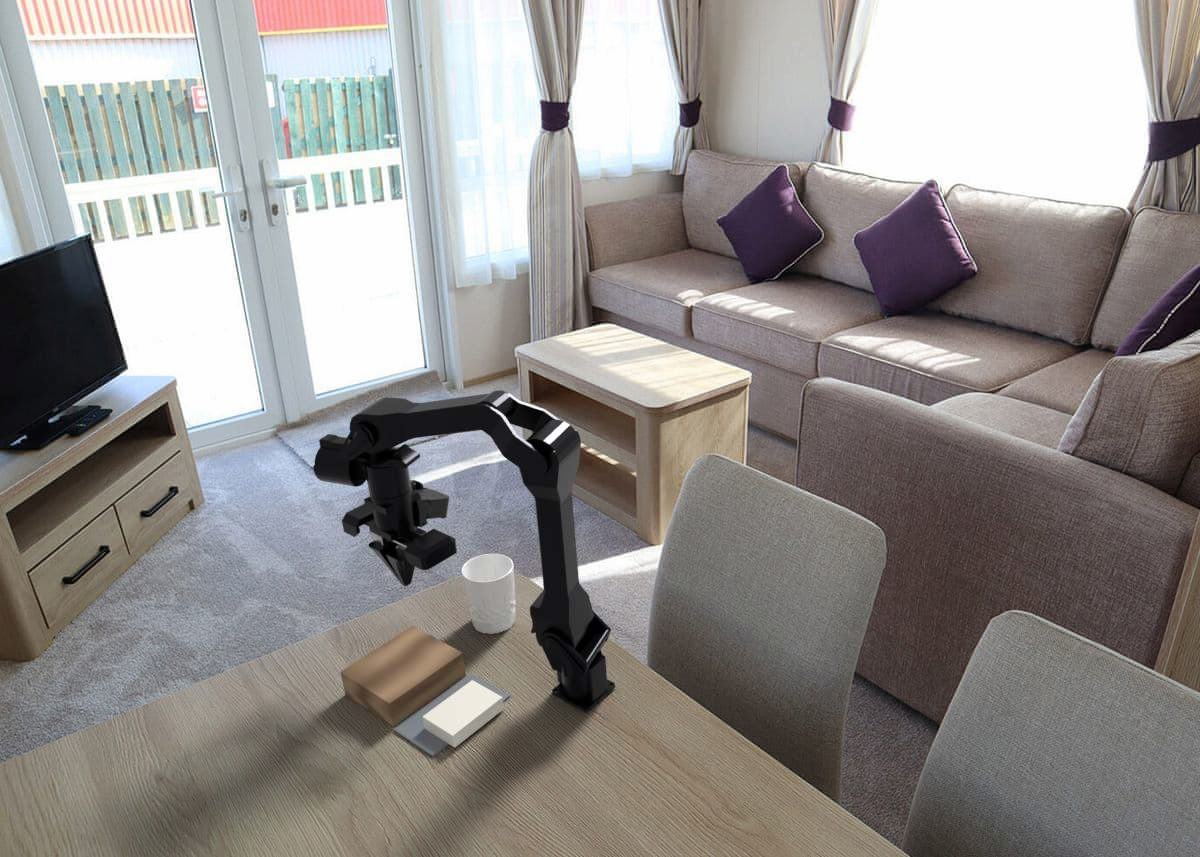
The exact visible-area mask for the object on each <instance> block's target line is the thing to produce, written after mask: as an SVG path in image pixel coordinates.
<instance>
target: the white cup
mask: <svg viewBox="0 0 1200 857" xmlns="http://www.w3.org/2000/svg"><path fill="white" fill-rule="evenodd" d="M514 569H515V568H514V562H513V560H512V559H511V558H510V557H509V556H507V555H504V554H502V553H501V554H500V553H486V554H480V555H477V556H475V557H472V558H470V559H468V560H467V561H466V562H464V564H463V565H462V567H461V575H462V580H463V581H462V582H463V586H464V587H463V588H464V591H465V596H466V601H467V606H468V609H469V613H470V617H471V622H472V626H473V627H474V629H475V630H476V631H477V632H480V633H481V634H486V633H487V635H495V633H496V634H500V632H501V633H504V632H505V631H508V630H509V629H511V628H512V626H513V625H514V624H515V623H516V617H517V614H516V586H515V584H516V583H515V570H514ZM503 631H504V632H503Z"/></svg>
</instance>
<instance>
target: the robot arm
mask: <svg viewBox="0 0 1200 857" xmlns="http://www.w3.org/2000/svg"><path fill="white" fill-rule="evenodd" d="M512 425H513V426H516V427H519V428H522V429H525V430H527V431H532V432H533V433H532V434H531V435H530V436H529V437H528V438H527V439H524V438H523V437H521V436H520V435H518V434H517V432H516V430H515V429H514V427H513V426H512ZM477 431H482V432H484V433H485V434H486V435H487V436H489V437H490V438H491V440H492V441H493V443H494V444H495V446H496V448H497V449H498V450H499V451H500V452H499V453H501V456H503V457H504V458H505V459H506V460H507V461H509V462H511V464H513V465H514V466H516V467H517V468H518V469H519V474H520V477H521V481H522V483H523V485H524V486H525V488H526V489H527V490H528V492H529V493H530V494H531V495H532V497H533V499H534V503H535V504H534V505H535V513H536V514H535V515H536V525H537V535H538V544H539V554H540V564H541V573H542V576H541V577H542V583H543V590H542V591H541V593H539V595H538V596H537V597H536V599H535V600H534V601H533V603H531V605H530V607H529V615H530V619H531V624H532V625H531V626H532V627H531V630H530V634H535V638H536V642H537V644H538V646H540V647H541V648H542V650H543V652H544V655H545V656H546V658H547V661H548V663H549V665H550V667H551V669H552V670H553V671H556V674H557V675H556V676H557V682H558V683H559V684H557V685H556V686H555V687H554V688H552V689H551V693H552V695H554V696H555V697H557V698H558V699H561V700H563V701H564V702H566V703H568V704H569V705H571V706H573V707H576V708H577V709H579V710H580V711H583V712H589V711H590V710H591V709H592V708H593V707H594V706H596V705H597V704H598V703H599V702H601V700H602V699H604V698H605V697H606V696H607V695H608V694H609V693H610V692H612V691H613V690H614V689H615V688H616V683H615V682H614V681H612V680H609V679H608V673H607V663H606V660H607V657H606V656H605V655H604V654H603V653H602V649H603V647H604V645H605V644H606V643H607V642H608V639H609V638H610V634H611V632H612V628H611V627H610V626H609V625H608V624H607V623H606V622H605V621H604V620H603V619H602V618H601V617H600V616H599V615H598V614H597V613H596V612H595V611H594V610H593V607H592V602H591V599H590V595H589V593H588V592H587V591H586V590H585V589H584V587H583V586H582V585H581V584H580V578H579V576H580V575H579V566H578V565H579V564H578V553H577V552H578V551H577V542H576V541H577V540H576V530H575V528H576V527H575V526H576V525H575V517H574V516H575V515H574V505H573V503H574V502H573V486H574V482H575V479H576V477H577V476H576V475H577V472H578V469H579V465H580V458H581V449H582V440H581V436H580V434H579V431H578V430H576V429H575V428H574V427H573V426H572V425H571V424H569V423H567V422H566V421H564V420H561V419H559V418H558V417H556V416H555V415H554V414H553V413H551V412H550V411H548V410H547V409H545V408H542V407H539V406H537V405H534V404H531V403H529V402H528V403H527V402H526V401H525V402H524V401H521V400H519V399H518V398H517V397H515V396H513V395H512V394H511V393H509V392H508V391H506V390H500V389H499V390H493V391H491V392H489V393H484V394H482V393H481V394H475V395H468V396H461V397H455V398H447V399H439V400H432V401H426V402H413V401H410V400H409V399H407V398H401V397H383V398H380V399H378V400H377V401H375V402H373V403H372V404H370V405H369V406H367V407H366V408H363V409H362V410H361V411H359V412H357V413H356V414H354V415H353V416H352V417H351V419H350V422H349V434H348V435H347V437H343V436H338V435H337V434H332V433H328V434H326V435H325V436H323V437H321V438H320V439H319V440H318V441H319V442H318V443H319V448H318V450H317V452H316V454H315V458H314V463H313V464H314V465H313V466H312V468H313V472H314V475H315V477H316V478H317V479H318V481H321V482H323V483H330V484H331V483H332V484H335V485H336V484H337V485H343V486H349V487H354V488H355V487H361V486H362V485H364V484H365V482H366V483H367V488H368V494H369V496H368V497H366V498H364V499H363V501H364V502H363V504H361V505H359V506H357V507H355V508H353V509H351V510H349V511H347V512H345V514H344V516H343V518H342V519H341V524H342V529H343V533H345V534H348V535H349V536H351V537H354V538H356V537H358V536H359V534H360V533H361V528H360V527H361V526H363V525H365V526H367V527H368V528H369V531H368V534H369V535H370V536H371V540H372V541H371V542H369V543H368V547H369V549H370V550H372V551H373V552H374V553H375V554H376V556H377V557H378V558H379V559H380V560H381V561H382V562H383V564H384V565H385V566H386V567H387V568H388V569H389V570H390V572H391V573H392V574H393V576H394V577H395V578H396V580H397V581H398V582H399V583H400V585H401V586H404V587H408V586H409V585H411V584H412V582H413V577H414V573H415V568H417V569H419V570H421V571H427V570H428V571H429V570H431V569H433V568H434V567H435V566H437V565H439V564H440V563H442V562H445V560H447V559H449V558H451V557H452V556H455V555H456V554H457V553H458V548H457V540H456V538H455V537H453V536H451V535H449V534H446V533H444V532H441V531H439V530H438V529H436V528H432V529H431V530H429V531H426V530H424V529H422V528H423V527H424V526H426V525H428V520H430V519H439V518H440V519H442V520H443V519H446V518H448V511H449V503H450V496H449V495H448V494H445V493H443V492H439V491H437V490H435V489H432V488H429V487H428V488H427V487H424V484H423V483H422V482H420V481H418V480H415V479H411V478H410V472H409V467H410V466H411V465H413V464H414V463H415V462H416V461H417V460H419V459H420V458H421V454H420V453H419V452H418V451H417V450H415V449H413V448H411V447H410V446H409V445H408V444H407V443H405V442H408V441H410V440H413V439H418V438H419V439H420V438H428V437H434V436H435V437H436V436H443V435H451V434H453V435H454V434H460V433H468V432H477ZM403 443H404V444H403ZM401 444H402V445H401ZM400 445H401V446H400ZM397 446H400V447H397Z"/></svg>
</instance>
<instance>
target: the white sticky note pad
mask: <svg viewBox="0 0 1200 857" xmlns="http://www.w3.org/2000/svg"><path fill="white" fill-rule="evenodd" d="M504 709H505V705H504V702H503V697H501V696H500V695H498V694H496V693H494V692H493V691H491V690H489V689H487V688H486V687H484V686H482V685H480V684H478V683H477V682H475V681H473V680H472V681H470V682H469V683H467V684H466V685H465V686H463V687H462V688H461V689H459V690H458V691H457V692H455V693H454V694H452V695H451V696H450V697H448V698H447V699H446V700H444V701H443V702H442V703H440V704H439V705H437V706H436V707H435V708H433V709H432V710H431V711H429V712H428V713H427V714H425V715H424V716H422V717H423V723H424V728H425V729H426V730H428V731H429V732H431V733H433V734H434V735H436V736H437V737H439V738H440V739H442V740H443V741H445V742H447V743H448V744H449V745H450V746H451V747H452V748H456V747H458V746H459V745H460V744H461V743H463V742H464V741H465V740H466V739H467V738H469V737H470V736H471V735H473V734H474V733H475V732H476V731H479V729H481V728H482V727H483V726H485V724H486V723H488V722H489V721H490V720H492V719H493V718H495V717H496V716H497V715H498V714H499V713H501V712H502V711H503V710H504Z"/></svg>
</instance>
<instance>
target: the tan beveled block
mask: <svg viewBox="0 0 1200 857" xmlns="http://www.w3.org/2000/svg"><path fill="white" fill-rule="evenodd" d="M464 660H465V659H464V654H463V651H460V650H459V649H456V648H454V647H453V646H451V645H450V644H447V643H445V642H444V641H442V640H440V639H439V638H436V637H435V636H433V635H431V634H429V633H428V632H426V631H424V630H422V629H420V628H418V627H416V626H415V625H411V626H410V627H408V628H407V629H405V630H404V631H402V632H400V633H399V634H397V635H396V636H394V637H392V638H391V639H390V640H388V641H386V642H385V643H383V644H382V645H380V646H378V647H377V648H375V649H374V650H372V651H370V652H369V653H367V654H366V655H364V656H363V657H361V658H360V659H358V660H357V661H355V662H353V663H352V664H350V665H349V666H347V667H345V668H344V669H342V670H341V671H340V676H341V681H342V685H343V690H344V695H345V696H347V697H349V698H350V699H351V700H353V701H355V702H356V703H357V704H359V705H361V706H362V707H363V708H365V709H367V710H368V711H370V712H371V713H372V714H374V715H376V716H377V717H378V718H380V719H381V720H383V721H385V722H386V723H387V724H389V725H391V726H392V727H393V728H395V727H397V726H398V725H399V724H401V723H402V722H404V721H405V720H406V719H408V718H409V717H411V716H412V715H413V714H415V713H416V712H418V711H419V710H420V709H422V708H423V707H424V706H426V705H427V704H429V703H430V702H431V701H433V700H434V699H436V698H437V697H438V696H440V695H441V694H442V693H444V692H445V691H447V690H448V689H449V688H451V687H452V686H454V685H455V684H456V683H458V682H459V681H460V680H462V679H463V678H465V677H466V676H467V674H466V666H465V661H464Z"/></svg>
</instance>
